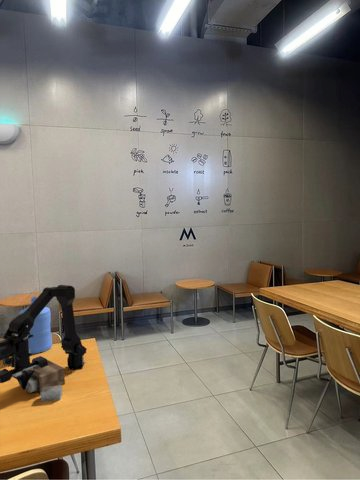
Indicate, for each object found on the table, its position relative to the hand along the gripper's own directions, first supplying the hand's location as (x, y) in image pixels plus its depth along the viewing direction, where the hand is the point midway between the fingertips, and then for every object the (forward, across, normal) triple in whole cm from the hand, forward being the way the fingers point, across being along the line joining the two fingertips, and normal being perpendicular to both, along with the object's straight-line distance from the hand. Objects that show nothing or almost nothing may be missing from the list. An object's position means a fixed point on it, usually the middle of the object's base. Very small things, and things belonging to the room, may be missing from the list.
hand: (23, 389), depth 131 cm
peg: (+1, -5, 0) cm, 5 cm away
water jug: (+3, -28, -42) cm, 51 cm away
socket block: (+2, -10, -2) cm, 10 cm away
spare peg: (+3, -6, +11) cm, 12 cm away
